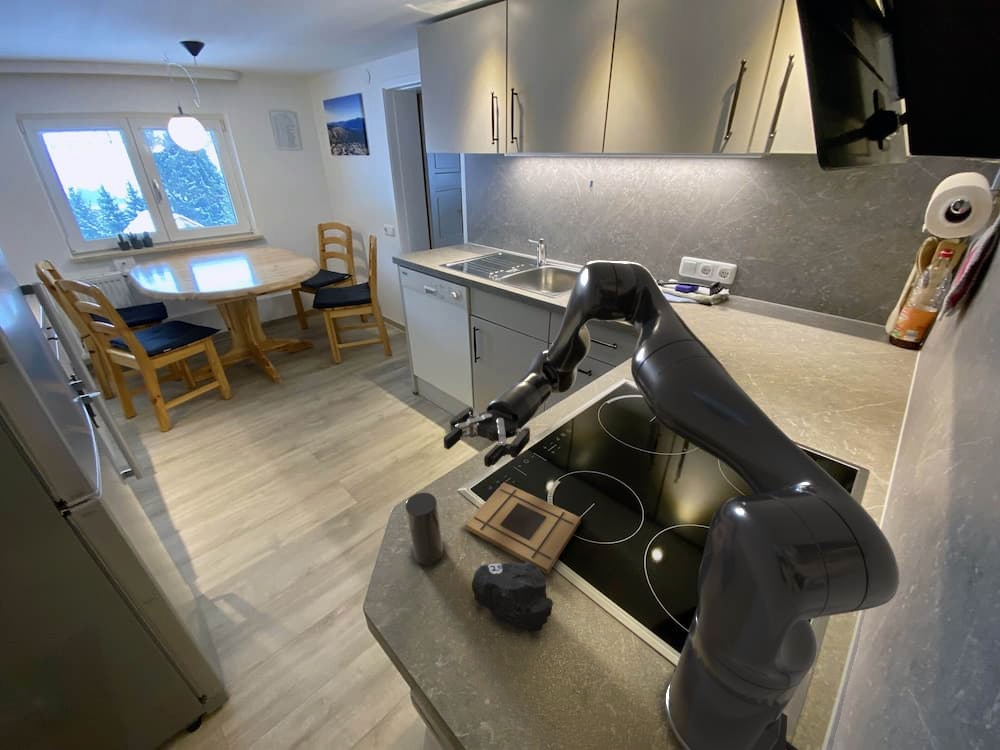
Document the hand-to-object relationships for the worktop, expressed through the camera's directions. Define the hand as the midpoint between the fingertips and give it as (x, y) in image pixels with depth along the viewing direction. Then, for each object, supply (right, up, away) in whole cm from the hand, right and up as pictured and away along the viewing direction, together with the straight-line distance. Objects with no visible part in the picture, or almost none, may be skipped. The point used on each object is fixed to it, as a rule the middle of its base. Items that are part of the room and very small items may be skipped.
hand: (465, 453), depth 69 cm
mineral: (+8, -20, -10) cm, 23 cm away
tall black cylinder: (-6, -16, -2) cm, 17 cm away
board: (+10, -13, +2) cm, 16 cm away
